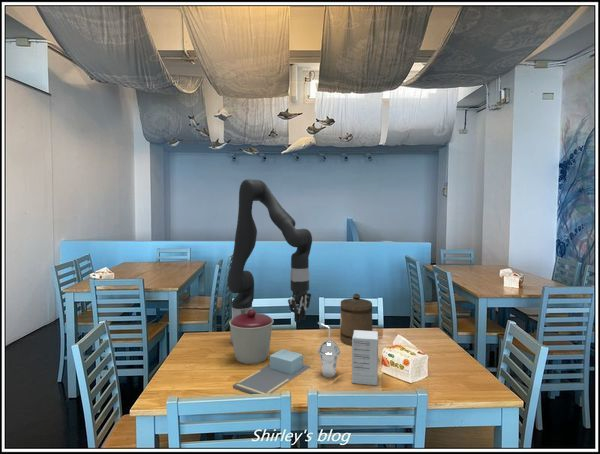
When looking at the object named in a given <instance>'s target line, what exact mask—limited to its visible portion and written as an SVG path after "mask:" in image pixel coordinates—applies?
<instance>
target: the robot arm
mask: <svg viewBox="0 0 600 454" xmlns="http://www.w3.org/2000/svg"><path fill="white" fill-rule="evenodd" d="M254 202H259V203H261V204H262V205H264V206H265V207H266V209H267V212H268V215H269V216H268V217H269V218H270V220H271V222H272V223H273V224H274V225H275V226H276V227H277V229H278V230H279V231H281V233H282V235H283V237H284V240H285V241H286V243H287V244H288V245H289V246H290V247H292V248H296V250H295V251H294V253H292V254H291V256H290V259H291V260H290V291H291V292H292V297H291V298H290V299H289V298H288V300H287V303H288V307H289V309H290V312H291V313H294V317H293V318H294V319H293V320H294V322H295V323H300V322H301V320H302V321H305V320H306V311H307V309H308V308H309V307H310V303H311V298H312V294H311V293H309V292H308V291H309V290H310V271H309V268H310V267H309V257H310V253H311V249H312V244H313V236H312V232H311V231H310V230H308V229H307V228H296V221H295V219H294V218H293V217H292V216H291V215H290V213H288V212H287V211H286V210H285V208H283V207H282V205H281V204H280V202H279V201H278V200H277V198H276V197H275V196H274V195H273V193H272V191H271V190H270V188H269V187H268V185H267V184H266V183H265V182H264V181H263V180H261V179H249V178H248V179H244V180H243V181H242V182H241V183H240V186H239V192H238V211H237V213H238V214H237V222H236V223H237V224H236V229H235V236H234V245H233V251H232V259H231V264H230V268H229V272H228V275H227V288H228V290H229V291H230V292H231V293H232V294H237V295H236V296H235V297H234V298H233V299H232V300H231V319H233V318H234V317H236V316H238V315H241V314H247V312H248V311H249V310H253V301H254V297H255V279H254V276H253V274H252V272H250V271H249V270H244V269H245V266H246V263H247V261H248V259H249V258H250V256H251V255H252V253H253V251H254V249H255V247H256V242H257V236H258V230H257V225H256V223H255V221H254V218H253V203H254ZM229 326H230V325H229ZM230 344H232V345H233V338H232V331H231V326H230Z"/></svg>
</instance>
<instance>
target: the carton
mask: <svg viewBox="0 0 600 454" xmlns="http://www.w3.org/2000/svg"><path fill="white" fill-rule="evenodd" d="M269 364H270V368H271V369H274V370H277V371H281V372H284V373H287V374H293V373H294V372H296V371H298V370H299V369H301V368H302V367H303V365H304V355H303V354H302V353H299V352H294V351H291V350H288V349H285V348H284V349H283V348H282V349H280V350H278V351H276V352H274V353H272V354H270V355H269Z"/></svg>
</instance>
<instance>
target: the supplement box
mask: <svg viewBox="0 0 600 454" xmlns="http://www.w3.org/2000/svg"><path fill="white" fill-rule="evenodd" d="M378 337H379V332H378V331H376V330H372V331H361V330H354V334H353V337H352V345H351V383H352V384H358V385H371V386H378V379H379V377H378V376H379V375H378V373H379V372H378V370H379V338H378Z"/></svg>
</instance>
